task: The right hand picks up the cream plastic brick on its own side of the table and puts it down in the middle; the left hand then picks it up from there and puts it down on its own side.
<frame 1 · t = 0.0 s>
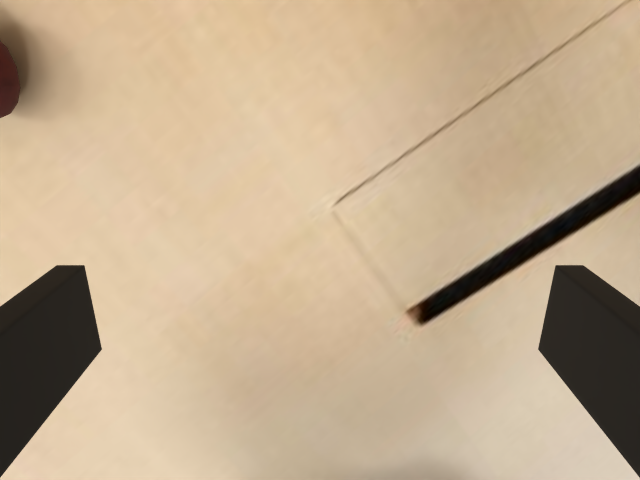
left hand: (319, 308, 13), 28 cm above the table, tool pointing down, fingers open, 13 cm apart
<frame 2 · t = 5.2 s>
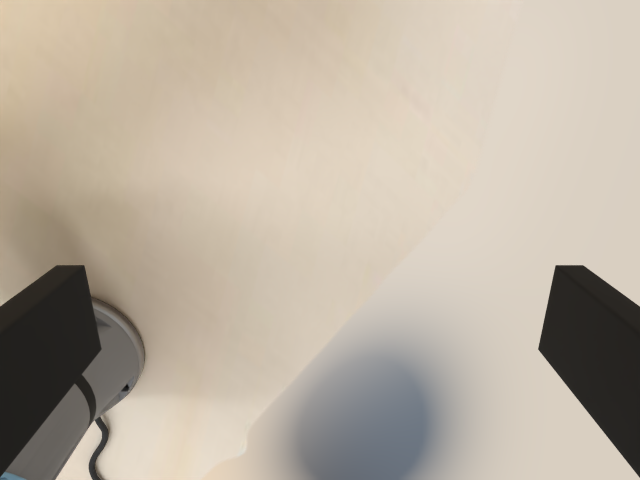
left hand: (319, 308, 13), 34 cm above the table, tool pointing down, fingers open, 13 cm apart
when the right hand's fingers open (5 cm above the table, at t = 11.0 s): brick drops 2 cm, on the table.
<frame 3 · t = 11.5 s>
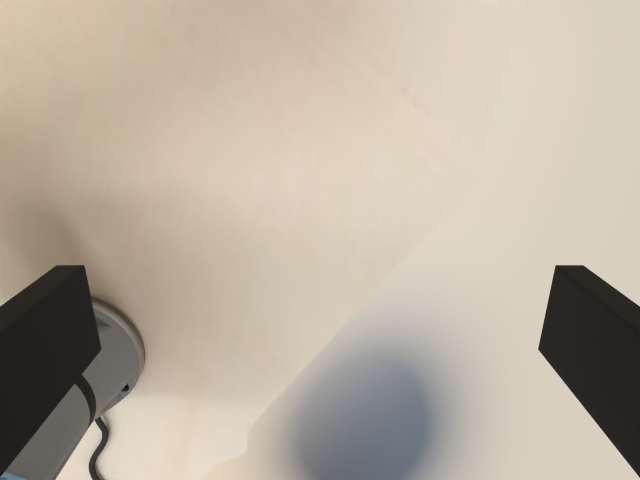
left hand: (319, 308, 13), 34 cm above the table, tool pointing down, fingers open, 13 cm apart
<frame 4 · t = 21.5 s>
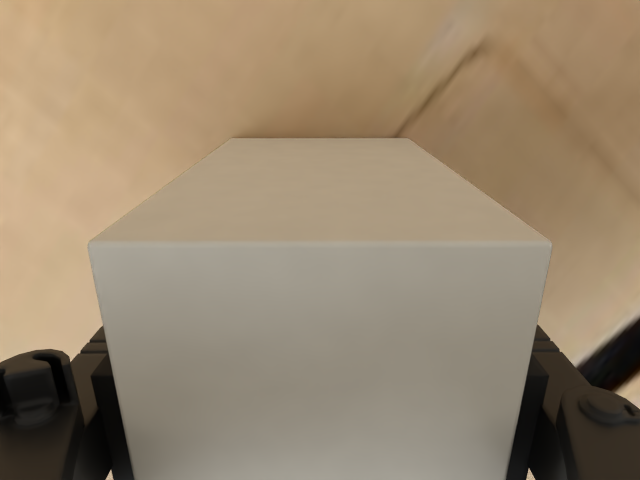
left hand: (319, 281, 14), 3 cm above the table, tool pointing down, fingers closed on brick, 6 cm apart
brick: (319, 241, 17), on the table, touching left hand
when the left hand's fingers open (5 cm above the table, at t = 30.3 s): brick drops 2 cm, on the table.
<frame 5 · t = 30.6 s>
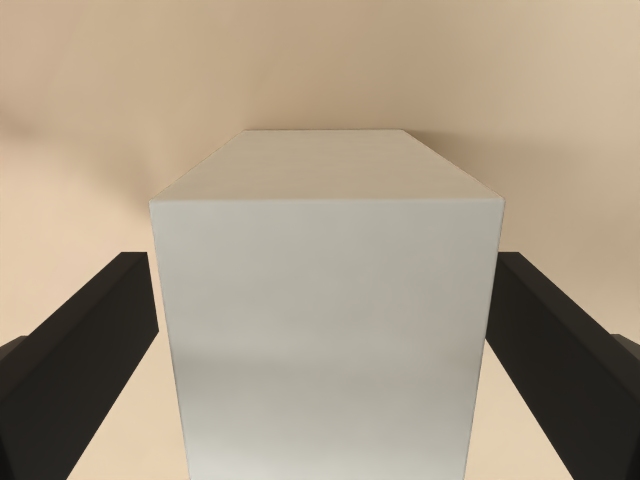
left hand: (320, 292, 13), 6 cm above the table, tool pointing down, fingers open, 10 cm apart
brick: (323, 224, 19), on the table
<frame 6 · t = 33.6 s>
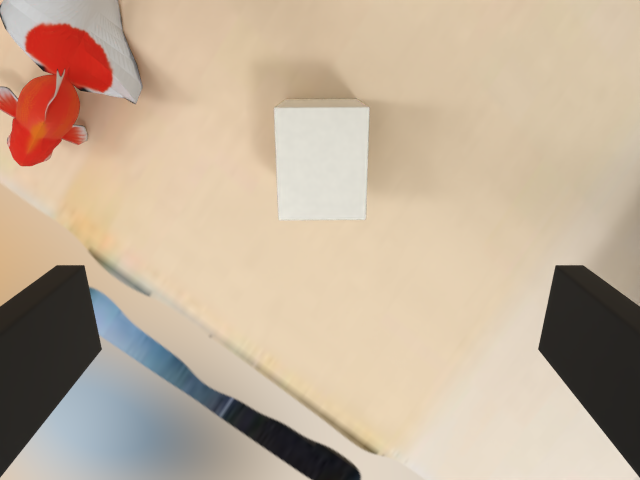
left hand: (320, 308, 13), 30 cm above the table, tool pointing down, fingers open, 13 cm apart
fish: (87, 70, 39), on the table
brick: (321, 144, 41), on the table
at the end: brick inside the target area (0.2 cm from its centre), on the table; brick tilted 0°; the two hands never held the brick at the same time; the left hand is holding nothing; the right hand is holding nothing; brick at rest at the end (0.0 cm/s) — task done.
